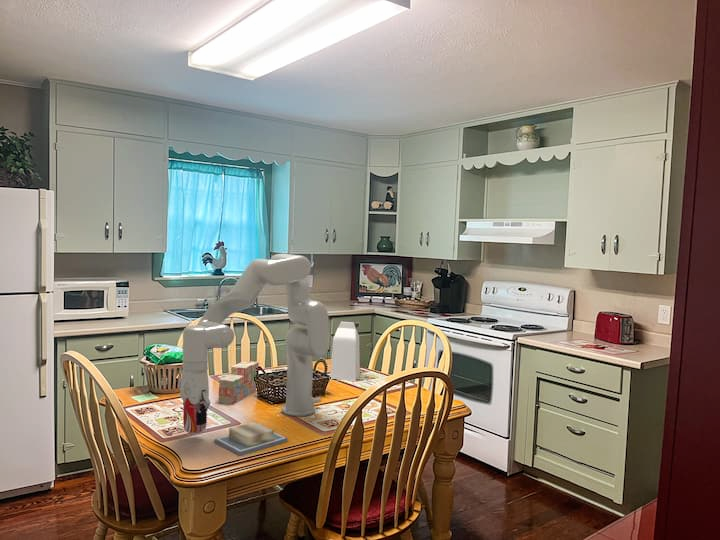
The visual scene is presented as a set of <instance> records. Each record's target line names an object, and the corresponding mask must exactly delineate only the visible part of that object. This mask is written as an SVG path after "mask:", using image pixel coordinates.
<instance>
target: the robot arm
mask: <svg viewBox="0 0 720 540" xmlns="http://www.w3.org/2000/svg"><path fill="white" fill-rule="evenodd" d="M311 270H312V264H311V261H310V260H309V259H308V258H307V256H304V255H299V254H291V253H276V254H274V255H272V256H271V258H270V259H266V258H256V259H253V260H252V261H250V263H249V264H248V265H247V267H246V268H245V270H244V271H243V272H242V274H241V275H240V276H239V278H238V279H237V281H236V283H235V284H234V286H233V287H232V288H231V290H230V291H229V292H228V293H226V294H225V295H224V296H222V297H221V298H219V299H218V300H217V301H215V302H214V303H212V305H211V306H209V307H208V309H206V311H205V312H204V314H203V315H202V316H201V318H200V320H199V321H198V323H197V325H188V326H186V327H184V329H183V331H182V369H181V375H180V376H181V377H180V385H179V386H180V389H179V390H180V391H179V396H180V399H182V401H183V403H182V405H183V406H184V398H186V397H187V398H188V399H189V401H190V403H191V404H194V405H197V410H198V412H197V415H196V424H197V425H201V424H205V423H206V422H207V421H208V420H207V419H208V415H207V414H208V409H209V407H210V405H211V400H210V398H209V397H210V395H209V394H210V392H209V391H210V388H209V385H210V384H209V374H208V369H209V368H208V367H209V364H208V362H209V360H208V359H209V349H222V348H223V349H224V348H226V347H229V346H230V345H231V344H232V343H233V341H234V339H235V332H234V330H233V328H232V327H230V326H229V325H226V324H223V322H224V321H225V320H226V319H228V317H230V316H232V315H233V314H235V313H238V312H241V311H243V310H244V311H245V310H247V309H248V308H250V307H252V306H253V304H254V303H255V302H256V299H258V297H259V296H260V294H261V292H262V291H263V289H264V288H265V286H267V285H269V286H273V287H275V286H281V285H284V286H285V291H286V305H287V306H286V307H287V317H288V319H289V320H290V322H292V323H294V324H296V325H300V326H294V327H291V328H290V329H289V330H288V331H287V332H286V335H285V339H284V340H285V349H286V356H287V357H286V359H287V362H286V363H287V364H286V365H287V367H286V386H285V387H286V392H285V404H284V405H282V407H281V412H282V413H283V414H285V415H287V416H292V417H305V416H306V417H307V416H310V415H313V414H314V413H315V412H316V407H315V404H317V403H321V402H322V398H321V397H319V396H317V397H314V396H313V377H314V376H313V373H314V372H313V371H314V362H313V358H312V357H314V358H319V357H323V356H324V355H326V354H327V352H328V349H329V347H330V329H329V328H330V326H329V325H330V324H329V322H330V321H329V313H328V312H329V311H328V309H327V307H326V306H325V304H323V303H322V302H320V301H319V300H318V301H317V300H313V299H312V298H311V291H310V289H311V288H310V283H309V279H308V276H309V275H310V273H311ZM304 326H305V327H304ZM186 395H188V396H186ZM201 399H203V401H202V402H200V400H201ZM200 404H203V405H202V407H201V408H200ZM207 423H208V422H207ZM207 423H206V424H207Z"/></svg>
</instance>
